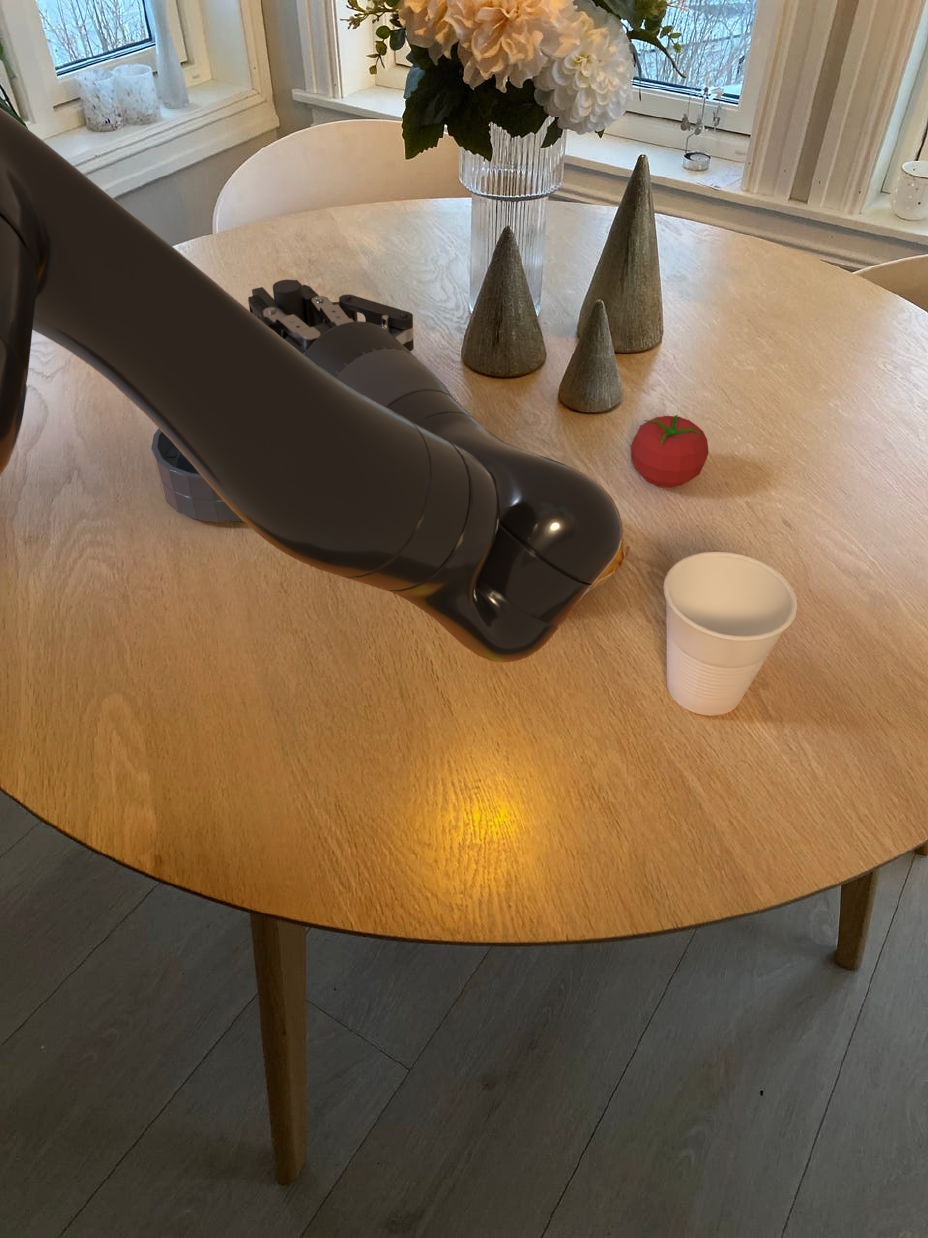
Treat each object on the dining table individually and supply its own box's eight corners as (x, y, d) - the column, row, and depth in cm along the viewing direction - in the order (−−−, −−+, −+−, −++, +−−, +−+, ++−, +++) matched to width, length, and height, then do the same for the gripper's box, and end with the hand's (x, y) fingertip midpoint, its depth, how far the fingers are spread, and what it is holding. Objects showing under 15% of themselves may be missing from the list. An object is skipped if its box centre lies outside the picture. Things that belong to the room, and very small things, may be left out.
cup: (779, 676, 81) (814, 578, 73) (741, 755, 75) (774, 657, 67) (669, 633, 85) (691, 535, 77) (624, 706, 78) (643, 607, 71)
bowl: (141, 519, 95) (127, 469, 91) (194, 441, 105) (184, 392, 101) (278, 536, 94) (270, 486, 89) (319, 455, 104) (314, 406, 100)
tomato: (613, 483, 101) (622, 420, 95) (645, 448, 105) (656, 387, 100) (683, 509, 98) (697, 445, 92) (713, 473, 102) (728, 410, 97)
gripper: (479, 326, 59) (358, 227, 69) (265, 380, 54) (171, 264, 64) (476, 431, 64) (364, 324, 75) (281, 490, 59) (191, 366, 70)
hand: (274, 297), depth 69 cm, fingers closed
